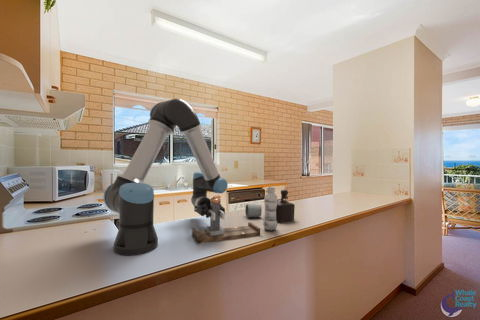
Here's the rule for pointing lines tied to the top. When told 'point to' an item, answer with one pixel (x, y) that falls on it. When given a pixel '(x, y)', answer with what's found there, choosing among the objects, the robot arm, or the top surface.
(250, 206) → the ceramic mug
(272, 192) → the plastic bottle
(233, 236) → the fader track
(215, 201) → the grey upright piece
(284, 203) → the black block with knob
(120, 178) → the robot arm
